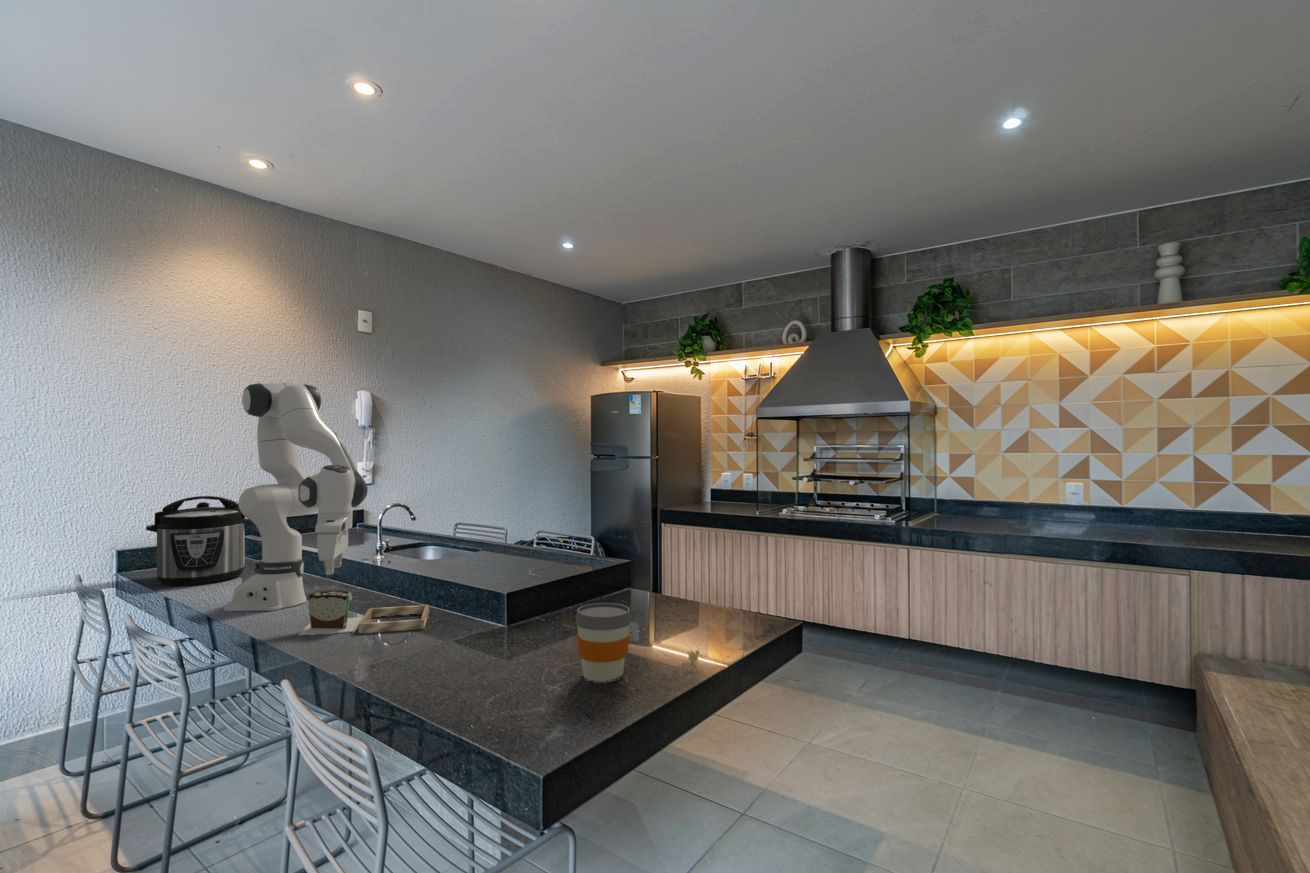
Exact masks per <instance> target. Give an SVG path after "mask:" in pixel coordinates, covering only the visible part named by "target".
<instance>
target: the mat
mask: <svg viewBox="0 0 1310 873" xmlns="http://www.w3.org/2000/svg"><path fill="white" fill-rule="evenodd" d="M363 617H364V616H361V617H360V616H359V617H347V626H346V628H345V629H311V626H310V622H309V623H308V625H306V627H305V628H303V630H302V631H301V632H300V633H299V634H298V637H301V636H300V635H310V636H316V635H315V634H324V635H333V634H335V633H338V634H349V633H350V632H352V633H356V632H358V624H359V623H360V621H361V620H362V618H363ZM335 635H336V634H335Z"/></svg>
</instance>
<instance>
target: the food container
mask: <svg viewBox="0 0 1310 873" xmlns="http://www.w3.org/2000/svg"><path fill="white" fill-rule="evenodd" d="M352 595H353V594H352V592H351V590H350V589H347V588H324V589H318V590H314V591H310V592H307V595H306V600H307V602H308V611H309V613H308V614H309V623H310V626H311V629H345V628H346V626H347V618H349V617H348V616H349V606H350V601H352V599H353V596H352Z"/></svg>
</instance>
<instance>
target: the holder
mask: <svg viewBox="0 0 1310 873" xmlns="http://www.w3.org/2000/svg"><path fill="white" fill-rule="evenodd" d="M409 614H417V615H421V618H418V619H405V620H403V619H402V620H393V621H392V620H391V621H376V622H375V621H374V622H371V620H372V619H371V618H382V617H381V616H386V617H396V616H395V615H401V616H410V615H409ZM428 614H430V604H421V605H420V604H419V605H418V604H417V605H402V606H390V607H389V606H388V607H385V606H384V607H371V608H370V607H369V608H368V609H367V611H366V613H365V614H364V615H363V616H362V617H363V618H362V620H361V621H360V623H359V624H358V629H357V632H358V634H359V633H360V634H369V633H370V634H371V633H374V634H375V633H382V632H383V633H386V631H387V632H396V631H397V632H398V631H411V630H413V631H414V630H416V631H417V630H424V629H425V627H426V624H427V621H428V618H429V615H428ZM427 617H428V618H427Z"/></svg>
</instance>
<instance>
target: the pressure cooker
mask: <svg viewBox="0 0 1310 873" xmlns="http://www.w3.org/2000/svg"><path fill="white" fill-rule="evenodd" d="M195 500H196V501H197V500H214V501H216V500H217V501H219V502H220V503H221V505H222V507H220V506H210V502H204V501H203V502H199V503H197V504H196V506H195V507H191V508H190V507H189V508H183V509H179V508H180V507H181V506H183V504H184V502H189V501H195ZM246 524H254V523H253V522H252V521H251V520H250V519H248V518H246V517H245V516H244V515H243V514H242V513H241V511H240V509H239V502H236V501H235V500H232V499H229V498H225V497H222V496H221V497H220V496H214V495H201V496H192V497H190V496H189V497H185V498H182V499H179V500H176V501H173V502H171V503H169V504H166V505H165V506H163V508H162V510H161V511H157V512H155V513H154V524H150V525H146V526H145V531H149V532H153V533H156V577H157V579H158V581H159V582H160V583H161V584H164V585H168V586H170V585H171V586H173V585H174V586H189V585H191V586H192V585H199V584H208V583H209V584H210V583H214V582H220V581H225V580H230V579H233V578H236V577H239V576H240V575H242V573H243V572H244V570H245V562H246V561H245V558H246V557H245V556H246V552H245V551H246V550H245V548H246V545H245V544H246V542H245V541H246V539H245V538H246V536H245V535H246V532H245V531H246Z"/></svg>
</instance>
